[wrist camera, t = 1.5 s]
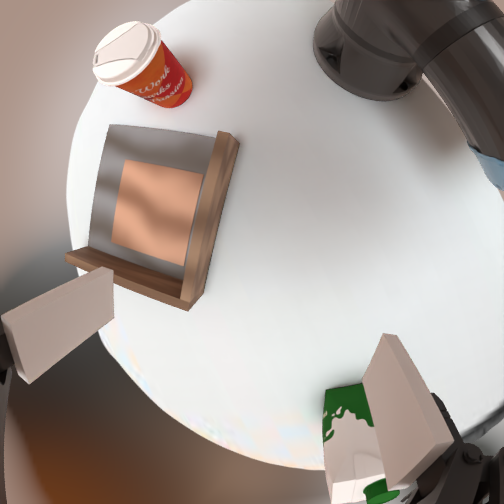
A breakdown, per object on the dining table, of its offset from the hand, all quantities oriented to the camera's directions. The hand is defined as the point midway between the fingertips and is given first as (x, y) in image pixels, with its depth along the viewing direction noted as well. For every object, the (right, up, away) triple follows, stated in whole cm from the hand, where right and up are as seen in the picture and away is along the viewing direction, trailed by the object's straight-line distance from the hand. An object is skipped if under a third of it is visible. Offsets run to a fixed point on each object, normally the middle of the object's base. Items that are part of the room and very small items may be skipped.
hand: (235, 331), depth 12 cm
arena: (-13, +10, +23) cm, 28 cm away
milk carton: (+16, -20, +25) cm, 36 cm away
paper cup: (-10, +25, +19) cm, 33 cm away
